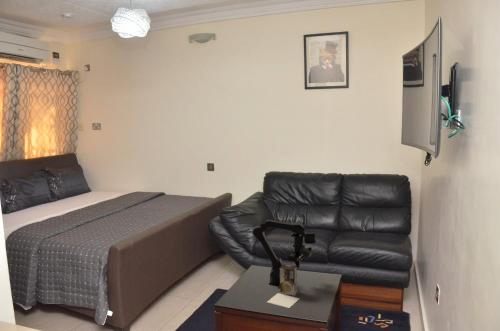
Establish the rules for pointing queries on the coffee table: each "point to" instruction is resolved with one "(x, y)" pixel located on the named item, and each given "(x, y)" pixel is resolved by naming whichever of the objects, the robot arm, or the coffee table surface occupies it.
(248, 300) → the coffee table surface
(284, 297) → the mat
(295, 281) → the coffee box
